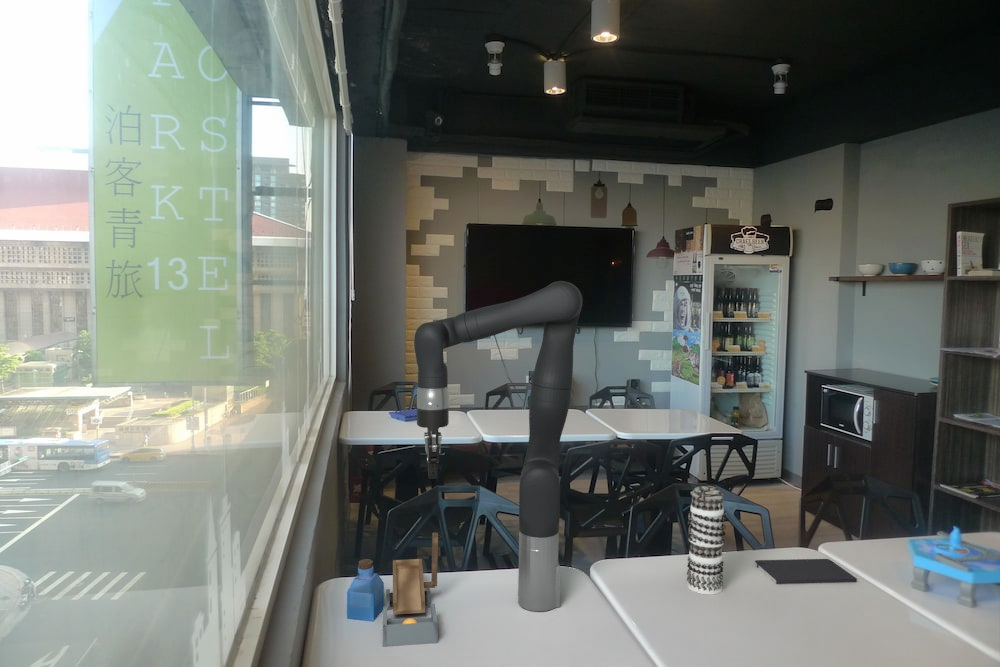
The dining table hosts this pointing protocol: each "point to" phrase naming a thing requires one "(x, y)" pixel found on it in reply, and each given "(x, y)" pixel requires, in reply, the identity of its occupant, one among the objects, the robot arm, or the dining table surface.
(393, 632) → the tray
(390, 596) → the fulcrum
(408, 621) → the ball
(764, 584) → the dining table surface
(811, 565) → the notebook
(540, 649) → the dining table surface
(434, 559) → the lever
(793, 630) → the dining table surface
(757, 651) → the dining table surface
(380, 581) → the perfume bottle
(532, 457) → the robot arm
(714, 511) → the decorative candle
